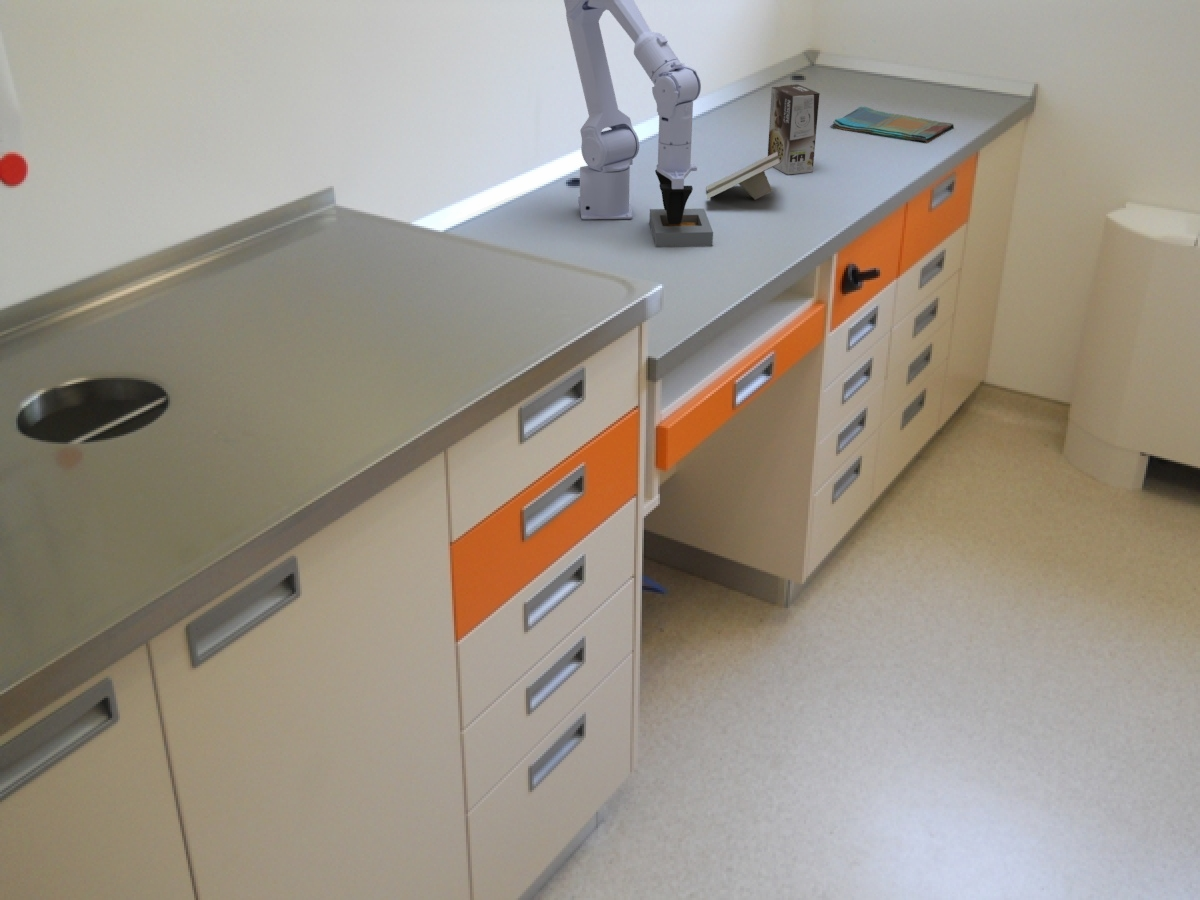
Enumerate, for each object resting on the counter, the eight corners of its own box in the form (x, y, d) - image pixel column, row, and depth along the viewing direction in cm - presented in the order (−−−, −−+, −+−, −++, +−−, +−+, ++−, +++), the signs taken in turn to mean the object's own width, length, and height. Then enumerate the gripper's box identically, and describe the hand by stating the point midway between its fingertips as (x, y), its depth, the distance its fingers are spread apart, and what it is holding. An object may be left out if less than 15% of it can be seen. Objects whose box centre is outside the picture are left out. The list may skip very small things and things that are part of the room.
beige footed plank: (734, 234, 240) (798, 183, 236) (705, 199, 239) (768, 146, 234) (733, 220, 256) (793, 171, 251) (706, 186, 254) (765, 136, 250)
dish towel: (860, 115, 305) (861, 104, 304) (954, 129, 294) (955, 118, 292) (829, 130, 293) (830, 119, 292) (925, 146, 281) (927, 135, 280)
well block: (655, 246, 223) (655, 232, 221) (649, 222, 234) (649, 209, 233) (712, 245, 223) (713, 232, 222) (703, 221, 234) (704, 208, 233)
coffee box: (814, 172, 262) (821, 93, 254) (786, 175, 260) (792, 95, 252) (792, 160, 269) (798, 83, 262) (765, 163, 267) (770, 85, 260)
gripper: (702, 152, 214) (699, 229, 221) (693, 129, 227) (690, 203, 233) (661, 152, 214) (658, 230, 220) (653, 129, 227) (651, 203, 233)
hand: (672, 216), depth 227 cm, fingers open, 7 cm apart
